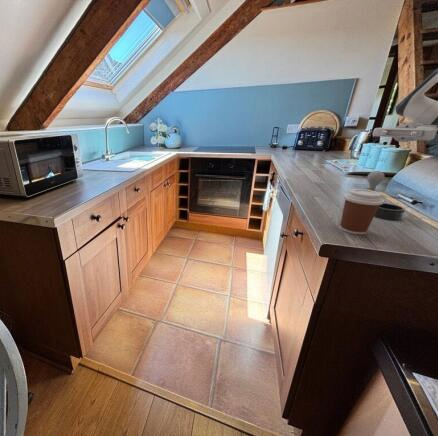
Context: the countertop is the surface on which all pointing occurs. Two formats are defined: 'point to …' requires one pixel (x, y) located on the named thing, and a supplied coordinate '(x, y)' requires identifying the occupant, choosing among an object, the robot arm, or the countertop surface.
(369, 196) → the coffee cup
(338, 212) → the countertop surface
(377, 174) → the light bulb
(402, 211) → the dark round bowl
